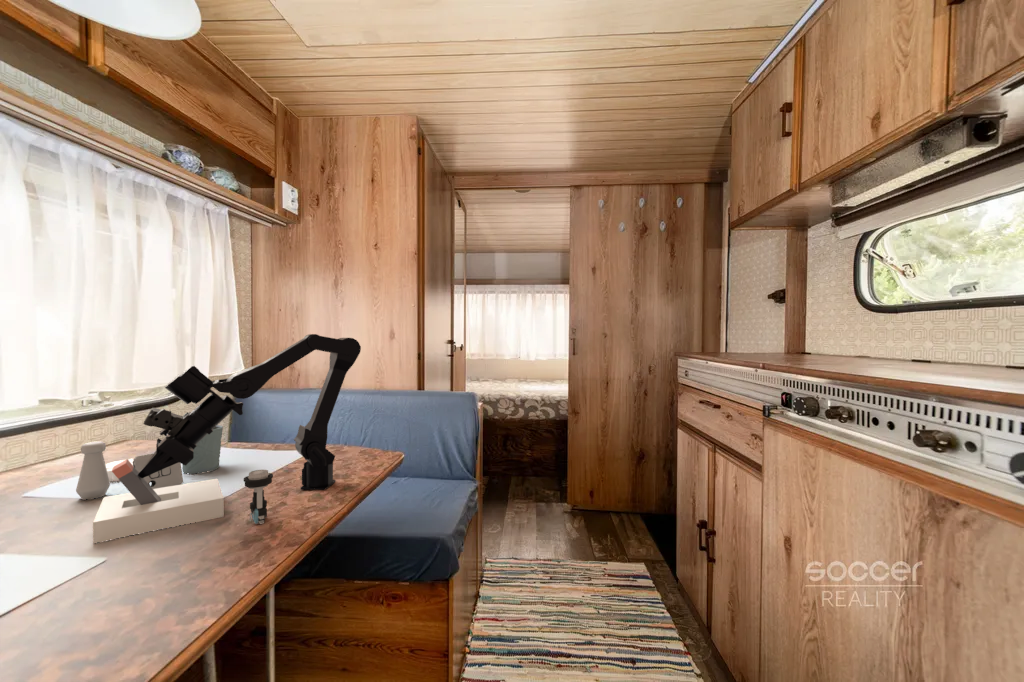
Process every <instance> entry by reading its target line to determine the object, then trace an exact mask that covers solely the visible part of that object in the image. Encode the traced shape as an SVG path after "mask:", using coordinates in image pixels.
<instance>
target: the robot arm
mask: <svg viewBox="0 0 1024 682" xmlns="http://www.w3.org/2000/svg"><path fill="white" fill-rule="evenodd" d="M361 349H362V347H361V344H360V342H359V341H358V340H357V339H355V338H353V337H339V338H333V337H328V336H322V335H320V334H317V333H312V334H311V333H309V334H307V335H305V336H304V337H303V338H302V339H300V340H298V341H296V342H295V343H293V344H291V345H290V346H288V347H287V348H284V349H283V350H281V351H280V352H278V353H276V354H274V355H273V356H271V357H270V358H268V359H266V360H265V361H263V362H261V363H259V364H256V365H253V366H250V367H247V368H245V369H242V370H240V371H237V372H235V373H232V374H231V375H230V376H229V377H227V378H222V379H216V380H211V379H210V378H209V377H207V376H206V375H205V374H204V373H202V371H200V370H199V368H198V367H196V366H195V365H191V366H190V367H189V368H187V369H186V370H184V371H182V373H180V374H177V376H175V377H173V379H172V380H170V381H169V382H168V383H167V384H166V385H165V386H164V389H166V390H167V391H168V392H169V393H172V395H174V396H175V397H176V398H178V399H179V400H181V401H182V402H183V403H185V404H186V405H189V404H190V403H193V404H195V405H197V404H198V403H200V402H201V401H202V400H203V399H204V398H205V399H204V400H203V401H202V402H201V403H200V404H199V405H197V406H196V407H195V408H194V409H192V411H189V412H188V411H187V412H185V414H183V415H179V414H176V413H175V412H172V410H167V409H166V408H163V409H160V408H156V407H152V408H151V409H150V410H149V412H148V414H147V416H146V417H145V419H144V421H143V423H142V424H143V425H144V426H147V427H156V428H160V429H161V430H159V435H160V436H163V435H164V436H165V437H164V438H162V439H161V438H156V444H155V445H156V447H155V448H156V449H155V451H154V452H153V453H154V454H153V455H152V457H151V458H150V459H149V460H148V462H147V463H146V464H145V466H144V467H143V468H142V470H141V471H140V472H139V473H138V476H139V477H140V478H144V477H146V476H149V475H151V474H153V473H155V472H158V471H160V470H162V469H164V468H167V467H169V466H171V465H174V464H176V463H179V462H180V463H181V465H182V464H183V465H185V466H186V465H187V464H188V463H189V462H190V461H191V460H192V459H193V458H194V452H193V449H194V448H195V447H196V446H197V445H196V444H197V443H198V442H199V441H200V440H201V439H203V438H204V437H205V436H206V435H207V434H210V433H212V432H213V428H214V427H216V426H217V425H219V424H220V423H222V421H224V420H225V418H227V417H228V416H229V415H230V414H231V413H232V412H235V413H236V414H238V415H239V416H242V415H243V414H244V413H243V408H244V407H243V406H244V403H243V402H242V401H239V402H236V401H235V400H234V399H232V398H231V397H230V396H229V395H227V394H230V395H231V396H232V397H234V398H236V399H241V400H242V399H243V400H245V399H248V398H250V397H252V396H254V395H255V394H256V392H258V391H259V390H260V389H261V388H262V387H264V386H265V385H266V384H267V382H269V380H271V378H273V377H274V376H276V375H277V374H279V373H280V372H282V371H283V370H285V369H287V368H288V367H290V366H291V365H294V364H295V363H296V362H298V361H299V360H302V359H303V358H304V357H306V356H308V355H309V354H311V353H313V352H314V351H320V352H327V353H330V354H329V368H328V371H327V374H326V376H325V379H324V382H323V384H322V388H321V391H320V392H319V393H320V394H319V395H318V399H317V401H316V404H315V406H314V409H313V412H312V415H311V418H310V420H309V421H308V422H307V423H306V425H305V426H304V425H301V424H299V426H298V429H297V430H298V431H297V434H296V436H295V437H294V438H293V441H294V442H295V445H294V447H295V450H296V453H298V454H300V455H301V456H302V457H303V458H304V460H305V461H306V462H303V468H302V469H301V485H302V486H300V490H309V491H310V490H313V491H314V490H316V491H317V490H318V491H319V490H320V491H321V490H327V489H329V488H330V487H331V486H333V484H334V483H336V481H337V480H336V479H334V461H335V458H336V456H335V454H333V453H332V451H330V450H329V449H327V443H328V432H329V431H328V427H329V422H330V420H331V416H332V414H333V411H334V408H335V406H336V403H337V400H338V398H339V395H340V391H341V390H342V386H343V384H344V383H343V382H344V380H345V377H346V375H347V373H348V372H349V370H350V369H351V368H352V367H353V366H354V364H355V363H356V360H357V359H358V358H359V355H360V354H361ZM212 388H214V390H216V391H217V392H219V393H224V394H225V395H224V396H223V395H222V396H220V395H219V394H218V393H216V392H215V391H213V390H212ZM209 394H210V395H209ZM208 395H209V396H208ZM207 396H208V397H207Z"/></svg>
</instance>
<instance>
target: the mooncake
mask: <svg viewBox="0 0 1024 682" xmlns="http://www.w3.org/2000/svg"><path fill="white" fill-rule="evenodd" d="M127 459H128V460H129V462H130V463H131V464H132V465H133V459H134V458H127ZM125 460H126V459H121V460H116V461H115V460H114V461H111V462H107V463H105V465H106V469H107V473H108V477H109V481H110V482H119V481H120V480H119V479H118V478H117V477H116V475H115V474H114V473H113V472H112V469H113V467H114V466H116V465H117V464H119V463H121V462H123V461H125ZM120 482H121V481H120Z"/></svg>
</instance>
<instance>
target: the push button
mask: <svg viewBox="0 0 1024 682" xmlns="http://www.w3.org/2000/svg"><path fill="white" fill-rule="evenodd" d="M273 478H274V474H273V473H271V472H269V470H268V469H256V470H251V471H249V472H248V475H247V476H245V477H244V478H243V482H244V487H246V488H248V489H250V490H253V492H252V502H250V503H249V509H250V512H249V522H252V521H253V522H254V524H255V525H258V524H260V525H262V524H265V522H266V518H267V519H268V509H267V506H268V501H267V499H265V495H264V494H265V490H264V488H265V487H268V486H269V485H270V484H272V482H273Z"/></svg>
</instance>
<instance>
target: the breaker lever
mask: <svg viewBox="0 0 1024 682" xmlns="http://www.w3.org/2000/svg"><path fill="white" fill-rule="evenodd" d="M128 459H129V458H127V459H124V460H125V461H123V462H121V463H119V464H117V465H116V466H114V467H113V469H112V472H113V473H114V474H115V475H116V477H117V478H118V479H119V480H120V482H121V484H122V485H123V486H124V487H125V488H126V490H127V491H129V492H128V493H131V494H132V495H133V496H134V497H135V498H136V500H137V501H138V502H139V503H140V504H141V505H144V504H149V503H155V502H161V498H160V497H159V496H158V495H157V493H156V492H155V491H154V490H153V489H152V488H151V484H150V483H149V484H150V485H149V484H148V483H147V482H146V480H145V479H144V478H140V477H139V476H138V473H139V472H138V471H137V470H136V469H135V467H134V466H133V465H132V464H131V463H130V462H129V460H128Z"/></svg>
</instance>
